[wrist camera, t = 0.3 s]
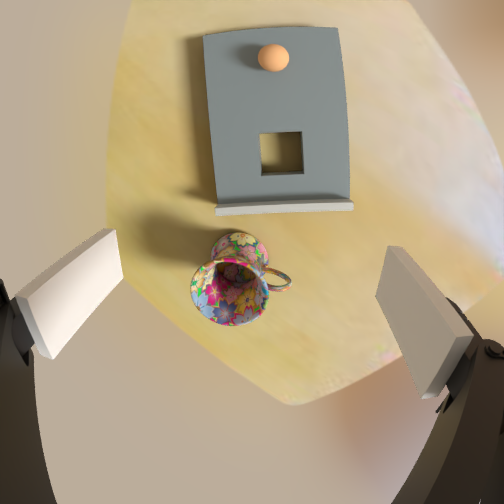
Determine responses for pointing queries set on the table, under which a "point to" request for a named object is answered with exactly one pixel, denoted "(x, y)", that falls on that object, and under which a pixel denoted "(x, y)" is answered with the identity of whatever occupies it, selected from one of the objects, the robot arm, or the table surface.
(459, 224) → the table surface
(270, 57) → the ball
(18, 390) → the robot arm
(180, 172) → the table surface
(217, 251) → the mug
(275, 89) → the board
